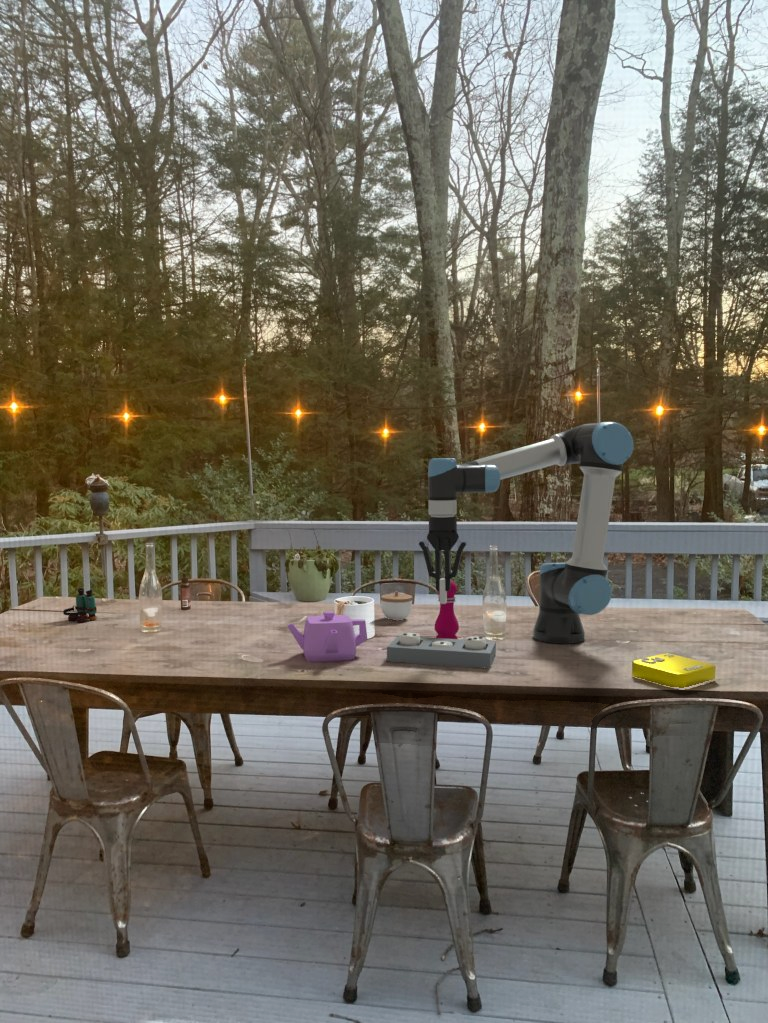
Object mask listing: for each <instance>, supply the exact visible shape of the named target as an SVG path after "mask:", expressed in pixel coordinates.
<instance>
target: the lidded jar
mask: <svg viewBox="0 0 768 1023" xmlns="http://www.w3.org/2000/svg"><path fill="white" fill-rule="evenodd" d="M412 605H413V596H412V595H411V594H405V593H399V591H397V590H395V591H394V593H386V594H383V595H380V608H381V611H382V614H383V615H384V616H385V617H386V618H389V619H394V620H401V621H403V620H402V619H405V620H406V618H408V616H409V615H410V613H411V612H412Z"/></svg>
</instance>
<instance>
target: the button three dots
mask: <svg viewBox="0 0 768 1023" xmlns="http://www.w3.org/2000/svg"><path fill="white" fill-rule="evenodd" d="M464 640H465V649H480V650H486V641H487V639H486V638H485V637H484V636H480V635H479V636H476V635H475V636H474V635H472V636H466V637H464Z"/></svg>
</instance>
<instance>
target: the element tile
mask: <svg viewBox="0 0 768 1023" xmlns="http://www.w3.org/2000/svg"><path fill="white" fill-rule="evenodd" d="M632 676H634V677H637V678H641V679H645V680H647V681H651V682H655V683H658V684H661V685H666V686H670V687H679V688H684V687H689V686H692V685H696V684H699V683H703V682H705V681H709V680H713V679H715V680H716V665H715V664H714V663H713V664H712V663H709V662H705V661H702V660H701V661H700V660H697V659H693V658H689V657H685V656H682V655H676V654H673V653H669V652H667V653H660V654H656V655H651V656H647V657H643V658H639V659H635V660H633V661H632V662H631V677H632Z"/></svg>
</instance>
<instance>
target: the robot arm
mask: <svg viewBox="0 0 768 1023" xmlns="http://www.w3.org/2000/svg"><path fill="white" fill-rule="evenodd" d="M634 445H635V444H634V440H633V436H632V434H631V432H630V431H629V430H628V428H627V427H625V426H624V425H623V424H621V423H618V422H615V421H602V422H594V423H593V422H592V423H585V424H581V425H577V426H575V427H573V428H571V429H567V430H565V431H561V432H559V433H555V434H552V435H551V436H550V437H549V439H547V440H542V441H540V442H535V443H532V444H529V445H525V446H522V447H517V448H514V449H510V450H506V451H503V452H499V453H496V454H493V455H492V454H491V455H489V456H486V457H481V458H478V459H475V460H472V461H467V462H464V463H457V459H456V458H453V457H452V458H451V457H450V458H449V457H447V458H445V457H444V458H443V457H441V458H440V457H438V458H436V457H435V458H431V459H430V460H428V468H427V470H428V472H427V478H428V480H427V483H428V485H427V486H428V487H427V488H428V515H430V516H429V517H428V533H427V535H426V538H425V539H424V540H421V541H419V542H418V545H419V547H420V548H421V549H422V552H423V557H424V561H425V565H426V569H427V572H428V576H429V577H430V578H434V579H435V590H436V592H437V591H440V595H439V596H440V602H439V605H440V604H446V602H447V591H450V589H451V581H452V578H456V577H457V576H458V573H459V569H460V564H461V560H462V556H463V553H464V549H465V548H466V546H467V545H468V544H467V543H468V542H467V541H464V540H463V539H461V538H460V537H459V534H458V528H457V527H458V517H457V516H456V515H457V513H458V512H457V511H458V510H457V507H458V506H457V505H458V504H457V502H458V500H457V499H458V498H457V494H468V493H469V494H476V493H477V494H478V493H481V494H482V493H483V494H484V493H485V494H487V493H495V492H496V491H498V489H499V488H500V485H501V480H504V479H507V478H512V477H515V476H519V475H523V474H525V473H530V472H533V471H537V470H540V469H544V468H548V467H551V466H555V465H557V466H559V467H563V466H566V465H567V466H568V465H572V464H573V465H574V464H575V465H576V464H579V469H580V471H581V472H582V473H583V479H582V487H581V494H580V501H579V506H578V514H577V521H576V526H575V533H574V534H575V535H574V542H573V548H572V554H571V555H572V556H571V558H569V559H568V560H567V561H565V562H546V563H542V564H541V565H540V568H539V575H538V577H539V610H538V611H539V612H538V616H537V618H536V622H535V623H534V627H533V630H532V632H533V633H532V637H533V639H535V640H537V641H540V642H545V643H550V644H562V645H564V644H576V643H581V642H583V641H585V630H584V626H583V624H582V620H581V616H580V615H581V614H582V615H584V616H585V615H586V616H593V615H596V614H597V615H598V614H599V613H600V612H602V611H604V610H605V609H606V607H608V605H609V604H610V602H611V599H612V595H613V592H612V591H613V590H612V589H613V588H612V586H611V584H610V582H609V580H608V579H607V575H608V567H607V566H606V565H605V563H604V557H605V550H606V545H607V544H606V543H607V535H608V530H609V524H610V518H611V517H610V516H611V510H612V503H613V502H612V501H613V496H614V489H615V482H616V478H617V477H618V476H620V475H621V474H622V473H623V466H624V463H625V462H627V461H628V459H630V458H631V456H632V454H633V451H634ZM430 545H431V546H432V548H433V549H434V557H435V560H434V562H435V564H433V560H432V557H431V552H430V549H429V547H430ZM455 545H456V546H457V551H456V553H455V554H456V555H455V559H454V563H453V567H452V566H451V565H452V564H451V563H452V562H451V560H452V556H451V554H452V549H453V548H454V546H455ZM442 551H443V552H444V576H445V578H444V577H442ZM434 565H435V566H434Z"/></svg>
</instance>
